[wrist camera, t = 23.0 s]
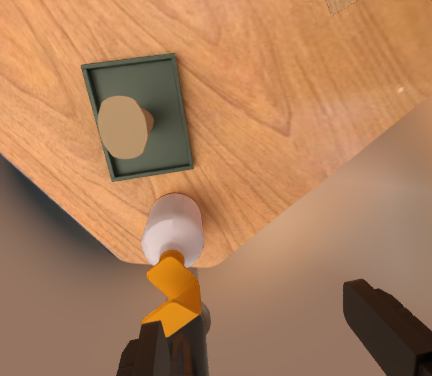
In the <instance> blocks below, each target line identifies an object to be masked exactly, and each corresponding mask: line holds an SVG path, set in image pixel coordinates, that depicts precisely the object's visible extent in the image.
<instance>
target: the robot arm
mask: <svg viewBox="0 0 432 376" xmlns="http://www.w3.org/2000/svg"><path fill="white" fill-rule="evenodd" d="M343 312H344V316H345V319H346V321H347V323H348V325H349V326H350V328H351V329H352V330H353V331H354V333H355V334H356V335H357V337H358V338H359V339H360V341H361V342H362V343H363V345H364V346H365V347H366V349H367V350H368V351H369V353H370V354H371V355H372V357H373V358H374V359H375V361H376V362H377V363H378V365H379V366H380V367H381V369H382V370H383V371H384V373H385V374H386V375H387V376H432V331H431V330H430V329H429V328H428V327H427V326H425V325H424V324H423V323H422V322H421V321H420V320H419V319H418V318H416V317H415V316H413V315H412V313H411V312H410V311H409V310H408V309H406V308H404V307H403V305H402V304H401V303H400V302H399V301H398V300H396V299H395V298H394V297H393V296H392V295H390V294H388V293H386V292H384V291H383V290H381V289H373V287H371V286H370V285H369V284H368V283H367V282H366V281H365V280H364V279H358V280H353V281H348V282H345V283H344V285H343ZM116 376H209V366H208V357H207V345H206V333H205V320H204V317H203V315H202V314H199V315H198V316H197V317H195V318H194V319H192V320H191V321H190V322H188V323H187V324H186V325H184V326H183V327H182V328H180V329H179V330H177V331H176V332H175V333H173V334H172V335H171V336H169V337H165V333H164V329H163V325H162V322H161V320H158V321H153V322H148V323H144V324H142V326H141V331H140V335H139V339H135V340H131V341H130V342H129V343H128V345H127V347H126V348H125V349H124V351H123V352H122V355H121V359H120V363H119V369H118V371H117V375H116Z"/></svg>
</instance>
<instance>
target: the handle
mask: <svg viewBox="0 0 432 376" xmlns="http://www.w3.org/2000/svg"><path fill="white" fill-rule="evenodd" d="M153 124H154V118H153V117H152V115H151V114H150V113H149V112H148V111H147V110H145V109H143V108H141V107H140V105H139V104H138V102H137V101H136V100H134V99H133V98H130V97H126V96H113V97H110V98H107V99H106V100H104V101H103V102H102V103H101V107H100V110H99V114H98V128H99V133H100V137H101V140H102V142H103V144H104V145H105V147H106V148H107V150H108V151H109V152H110V154H111V155H112V156H114V157H116V158H120V159H131V158H135V157H138V156H139V155H141V154H142V153H143V152H144V150H145V147H146V144H147V141H148V137H149V133H150V131H151V130H152V128H153Z"/></svg>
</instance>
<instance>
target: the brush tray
mask: <svg viewBox="0 0 432 376" xmlns="http://www.w3.org/2000/svg"><path fill="white" fill-rule="evenodd" d="M81 68H82V72H83V76H84V79H85V83H86V87H87V90H88V94H89V98H90V102H91V105H92V109H93V113H94V116H95V120H96V124H97V128H98V114H99V110H100V107H101V103H102V102H103V101H104V100H106V99H107V98H110V97H113V96H126V97H130V98H133V99H134V100H136V101H137V102H138V104H139V105H140V107H141V108H143V109H145V110H147V111H148V112H149V113H150V114H151V115H152V117H153V118H154V124H153V128H152V130H151V131H150V133H149V137H148V141H147V144H146V147H145V150H144V152H143V153H142V154H141V155H139V156H138V157H135V158H131V159H120V158H116V157H114V156H112V155H111V154H110V152H109V151H108V150H107V148H106V147H105V145H104V144H103V142H102V140H101V143H102V146H103V150H104V154H105V157H106V161H107V165H108V169H109V172H110V176H111V180H112V182H114V181H120V180H127V179H133V178H139V177H146V176H152V175H159V174H165V173H171V172H178V171H184V170H190V169H194V167H193V161H192V154H191V148H190V142H189V136H188V130H187V124H186V118H185V112H184V106H183V99H182V93H181V87H180V81H179V75H178V69H177V63H176V57H175V53H171V54H163V55H155V56H147V57H139V58H131V59H123V60H115V61H107V62H99V63H91V64H83V65H81ZM98 131H99V128H98ZM99 135H100V133H99ZM100 139H101V137H100Z"/></svg>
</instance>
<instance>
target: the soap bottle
mask: <svg viewBox="0 0 432 376" xmlns="http://www.w3.org/2000/svg"><path fill="white" fill-rule="evenodd" d="M141 241H142V250H143V252H144V254H145V256H146V258H147V260H148V261H149V262H150V263H151V264H152V265H153V267H152V268H151V269H149V270H148V272H147V278H148V280H150V281H151V282H152V283H153V284H154V285H155V286H156V287H157V288H158V289H160V290H161V291H162V292H163V293H164V294H165V295H166V296H167V297H168V298H169V300H168V301H166V302H165V303H163V304H162V305H161V306H159V307H158V308H157V309H155V310H154V311H153V312H151V313H150V314H149V315H147V316H146V317H145V318H143V320H142V322H141V324H144V323H148V322H153V321H158V320H161V322H162V325H163V329H164V333H165V337H169V336H171V335H172V334H173V333H175V332H176V331H177V330H179V329H180V328H182V327H183V326H184V325H186V324H187V323H188V322H190V321H191V320H192V319H194V318H195V317H197V316H198V315H199V314H201V310H202V309H201V298H200V286H199V282H198V281H197V279H196V277H195V276H194V275H193V274H192V273H191V272H190V271H189V270H188V269H187V268H188V267H189V266H191V265H193V264H194V262H195V261H196V260H197V259H198V258H199V257H200V255H201V253H202V250H203V248H204V233H203V226H202V219H201V213H200V210H199V208H198V205H197V204H196V203H195V202H194V201H193V200H192V199H191V198H189V197H187V196H186V195H183V194H177V193H173V194H168V195H165V196H163V197H161V198H159V199H158V200H157V201H156V202H155V203H154V204H153V205H152V208H151V211H150V214H149V217H148V220H147V223H146V226H145V229H144V232H143V235H142V238H141Z"/></svg>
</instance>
